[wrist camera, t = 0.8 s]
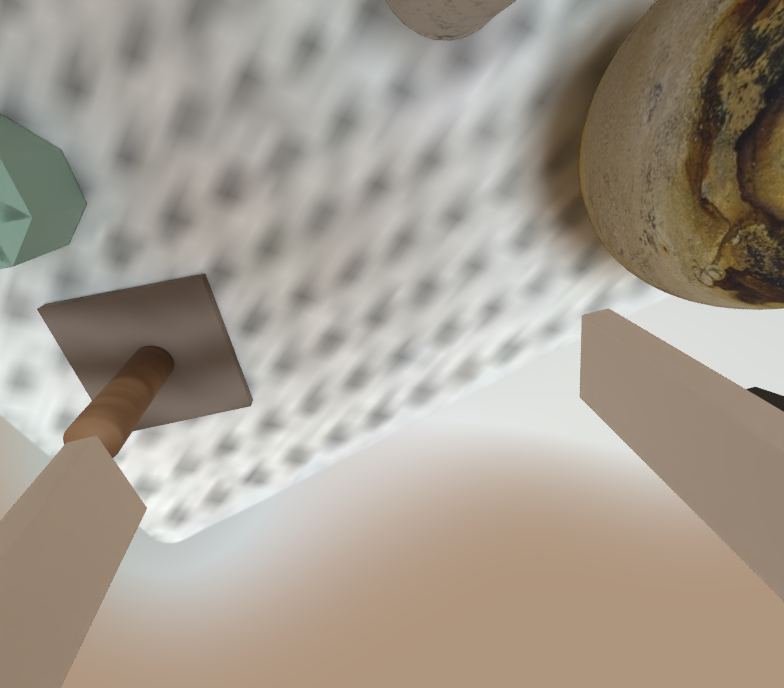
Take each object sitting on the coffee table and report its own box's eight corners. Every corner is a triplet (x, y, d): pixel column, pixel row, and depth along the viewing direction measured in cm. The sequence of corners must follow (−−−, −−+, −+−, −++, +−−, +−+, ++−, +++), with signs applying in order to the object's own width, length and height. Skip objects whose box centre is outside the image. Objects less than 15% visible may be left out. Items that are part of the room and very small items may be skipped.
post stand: (45, 304, 31) (-84, 378, 21) (205, 273, 32) (152, 332, 22) (118, 428, 36) (43, 532, 27) (252, 399, 37) (227, 491, 27)
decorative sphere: (641, -100, 26) (1350, -638, 8) (815, 74, 32) (1428, -10, 14) (479, 199, 32) (669, 268, 15) (650, 294, 39) (927, 424, 21)
